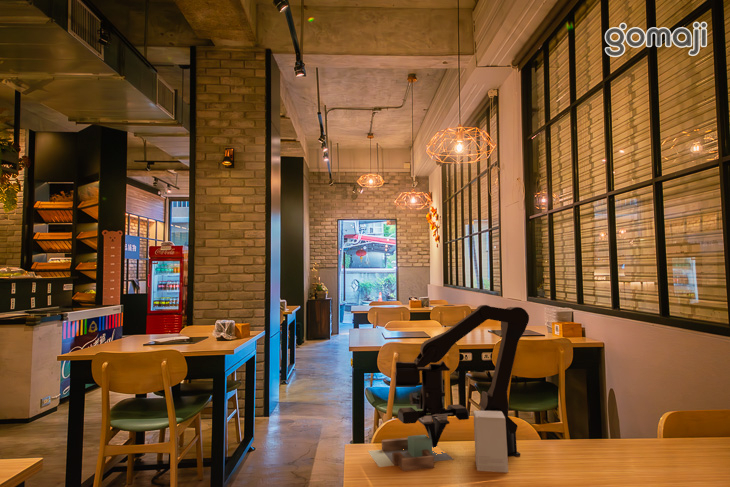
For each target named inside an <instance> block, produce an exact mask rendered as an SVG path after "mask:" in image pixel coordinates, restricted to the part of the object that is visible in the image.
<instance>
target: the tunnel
mask: <svg viewBox="0 0 730 487" xmlns="http://www.w3.org/2000/svg"><path fill="white" fill-rule="evenodd" d="M403 449H408V437H401V438H391V439H390V438H389V439H382V440H381V450H383V451H393V450H403ZM392 457H393V464H394V465H395V466H398V467H399V468H400V469H401V470H402V472H407V471H417V470H426V469H427V470H429V469H434V468H435V461H434V456H432V455H431V454H430V451H429V450H428V449H426V450H422V457H412V458H405V457H404V456H403V455H402V454H401V453H400V452H394V453H392Z"/></svg>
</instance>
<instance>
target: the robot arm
mask: <svg viewBox="0 0 730 487" xmlns="http://www.w3.org/2000/svg"><path fill="white" fill-rule="evenodd" d="M488 320H490V321H495V322H496V321H497V322H500V331H501V340H500V344H499V348H498V353H497V359H496V362H495V367H494V371H493V376H492V380H491V384H490V387H489V389H488V390H487V391H484V390H482V391H481V398H480V402H479V403H478V406H479V407H480V411H502V413H503V415H504V417H505V421H506V439H507V456H508V458H509V457H519V456H521V453H520V452H519V451H517V450H518V449H517V448H518V447H517V446H518V445H517V444H518V443H517V431H518V430H517V429H518V425H517V423H515V421H514V420H513V419H511V418H510V417H509V398H508V390H509V386H510V382H511V377H512V372H513V369H514V368H513V367H514V362H515V357H516V354H517V349H518V346H519V345H518V344H519V341H520V339H521V338H522V336H523V335H524V333H525V331H526V329H527V326H528V324H529V323H530V322H529V321H530V315H529V314H528V311H527V310H526V309H525V308H523V307H519V306H509V307H506V308H502V307H497V306H495V307H494V306H490V305H489V304H488V305H487V304H480V305H478V306H477V308H476V309H474V310H473V311H472V312H470V313H469V314H468V315H466V316H465V317H463V318H462V319H461V320H459V321H458V322H457V323H455V324H454V325H453V326H451V327H449V328H448V329H447V330H446V331H444V332H443V333H440V334H437V335H434V336H432V337H431V338H428V339H427V340H425V341H423V342H422V344H421V345H420V349H419V350H420V352H419V353H418V355H417V356H416V357H415V359H414V361H398V360H397V361H395V372H394V384H395V386H394V387H395V388H417V385H419V384H420V383H421V389H420V393H419V395H418V392H410V393H409V404H410V406H416V409H417V410H416V409H414V408H413V407H399V409H398V411H397V419H398V420H399V421H400V422H401V423H402V424H406V425H407V424H408V425H409V424H416V423H417V422H419V423H420V424H421V425H422V426H424V428H425V430H426V432H427V437H428V438H429V439H431V440H432V447H433V448H434V447H436V446H438V443H439V441H440V439H441V436H442V433H443V432H444V430H445V428H446V427H447V425H450V421H449V420H448V418H449V417H455V418H456V419H457V420H458V421H464V420H469V419H470V412H469V410H468V408H467V407H466V406H463V405H461V404H460V403H459V404H448V405H447V408H445V407H444V397H446V393H445V391H444V382H443V380H444V379H443V378H444V376H443V371H444V372H449V371H450V370H451V368H450V366H447V365H446V362H445V361H443V360H442V359H443V358H444V357H445V356H446V355H447V354H448V353H449V351H450V350H451V349H452V347H453V346H454V345H455V344H457V343H458V342H459V341H460V340H462V339H463V338H464V337H465V336H467V335H468V334H469V333H471V332H472V331H474V330H475V329H476V328H478V327H479V326H481V325H483V323H485V322H486V321H488Z"/></svg>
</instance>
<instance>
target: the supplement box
mask: <svg viewBox="0 0 730 487" xmlns="http://www.w3.org/2000/svg"><path fill="white" fill-rule="evenodd" d="M473 429H474V430H473V431H474V449H475V450H474V452H475V453H474V456H475V465H476V470H477V472H492V473H493V472H494V473H509V460H508V458H509V457H508V456H507V439H506V421H505V417H504V415H503V413H502V411H481V410H473Z"/></svg>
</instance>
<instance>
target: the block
mask: <svg viewBox="0 0 730 487" xmlns="http://www.w3.org/2000/svg"><path fill="white" fill-rule="evenodd" d="M407 438H408V452H409V453H410V454H411V455H412V456H413V457H422V450H426V449H428V450H429V451H430V454H431V455H432V440H431V439H429V436H428V435H426V434H420V435H419V434H417V435H407Z"/></svg>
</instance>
